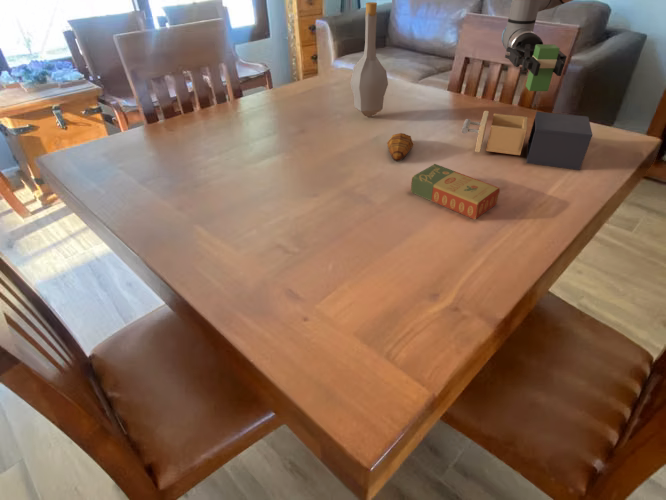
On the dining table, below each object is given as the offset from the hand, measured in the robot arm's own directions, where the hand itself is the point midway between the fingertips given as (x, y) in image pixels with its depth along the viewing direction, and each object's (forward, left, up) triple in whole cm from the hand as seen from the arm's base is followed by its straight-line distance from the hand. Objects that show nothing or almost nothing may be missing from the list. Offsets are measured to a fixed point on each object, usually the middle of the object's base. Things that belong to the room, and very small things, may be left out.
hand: (549, 69), depth 101 cm
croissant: (+31, +16, -18) cm, 39 cm away
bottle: (+46, -5, -18) cm, 49 cm away
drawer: (+9, +7, -17) cm, 21 cm away
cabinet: (-5, +7, -18) cm, 20 cm away
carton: (+15, +35, -18) cm, 43 cm away
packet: (+1, -5, -6) cm, 8 cm away
